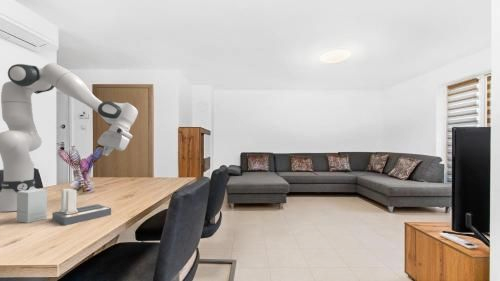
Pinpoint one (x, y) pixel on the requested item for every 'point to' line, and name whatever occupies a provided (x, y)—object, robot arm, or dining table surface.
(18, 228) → the dining table surface
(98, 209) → the switch panel
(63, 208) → the switch knob
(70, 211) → the switch knob
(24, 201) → the supplement box
